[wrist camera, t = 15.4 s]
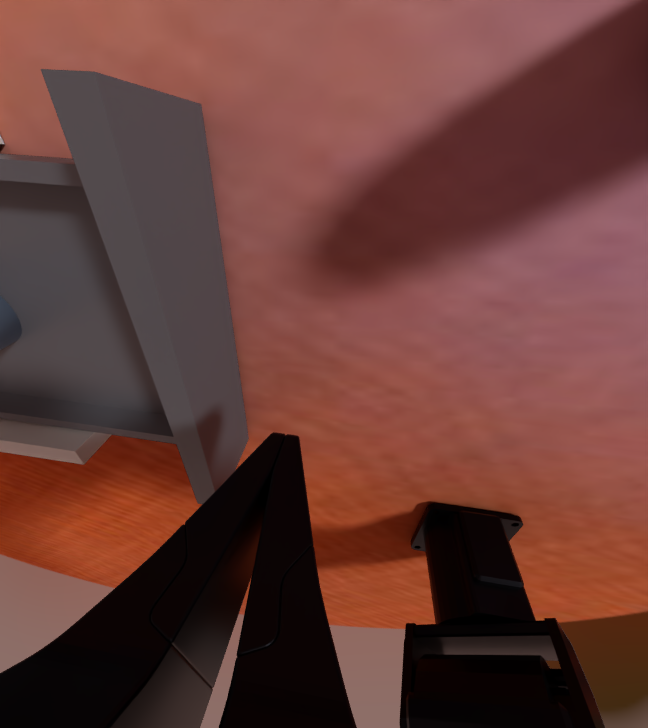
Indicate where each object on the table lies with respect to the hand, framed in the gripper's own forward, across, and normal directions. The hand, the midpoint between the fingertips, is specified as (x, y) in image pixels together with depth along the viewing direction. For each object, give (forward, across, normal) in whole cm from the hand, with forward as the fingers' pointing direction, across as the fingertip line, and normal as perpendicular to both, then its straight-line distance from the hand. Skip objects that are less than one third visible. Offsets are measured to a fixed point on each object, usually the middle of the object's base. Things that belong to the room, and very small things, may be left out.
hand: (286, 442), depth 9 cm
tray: (+7, +14, 0) cm, 16 cm away
